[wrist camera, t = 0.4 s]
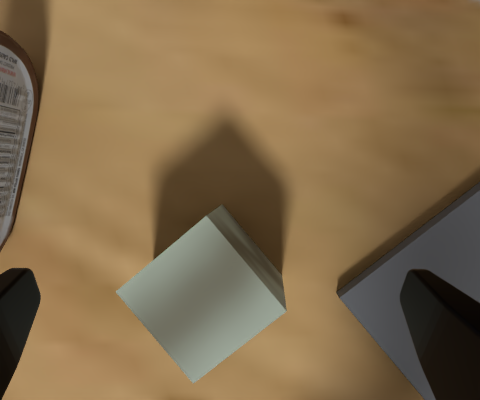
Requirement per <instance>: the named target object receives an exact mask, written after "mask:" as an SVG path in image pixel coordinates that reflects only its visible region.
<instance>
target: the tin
mask: <svg viewBox="0 0 480 400" xmlns="http://www.w3.org/2000/svg"><path fill="white" fill-rule="evenodd" d="M38 103H39V92H38V82H37V78H36V73H35V70H34V68H33V65H32V63H31V61H30V59H29V57H28V55H27V53H26V52H25V51H24V49H23V48H22V47H21V46H20V45H19V44H18V43H17V42H16V41H14V40H13V39H12V38H11V37H10V36H8V35H7V34H5V33H4V32H2V31H0V252H1V250H2V248H3V246H4V245H5V243H6V241H7V239H8V237H9V235H10V232H11V229H12V226H13V223H14V220H15V215H16V210H17V206H18V202H19V197H20V192H21V188H22V183H23V179H24V175H25V170H26V165H27V161H28V156H29V151H30V147H31V142H32V137H33V133H34V128H35V123H36V119H37V113H38Z"/></svg>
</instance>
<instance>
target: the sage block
mask: <svg viewBox="0 0 480 400" xmlns="http://www.w3.org/2000/svg"><path fill="white" fill-rule="evenodd" d="M116 293H117V294H118V295H119V296H120V298H121V299H122V300H123V301H124V302H125V303H126V305H127V306H128V307H129V308H130V309H131V311H132V312H133V313H134V314H135V315H136V316H137V318H138V319H139V320H140V321H141V322H142V324H143V325H144V326H145V327H146V328H147V329H148V331H149V332H150V333H151V334H152V335H153V337H154V338H155V339H156V340H157V341H158V342H159V344H160V345H161V346H162V347H163V348H164V350H165V351H166V352H167V353H168V354H169V355H170V357H171V358H172V359H173V360H174V361H175V363H176V364H177V365H178V366H179V367H180V368H181V370H182V371H183V372H184V373H185V374H186V376H187V377H188V378H189V379H190V380H191V381H192V383H195V382H196V381H197V380H199V379H200V378H201V377H202V376H204V375H205V374H206V373H208V372H209V371H210V370H211V369H213V368H214V367H215V366H217V365H218V364H219V363H220V362H222V361H223V360H224V359H226V358H227V357H228V356H229V355H231V354H232V353H233V352H235V351H236V350H237V349H238V348H240V347H241V346H242V345H244V344H245V343H246V342H247V341H249V340H250V339H251V338H253V337H254V336H255V335H257V334H258V333H259V332H260V331H262V330H263V329H264V328H266V327H267V326H268V325H269V324H271V323H272V322H273V321H275V320H276V319H277V318H278V317H280V316H281V315H282V314H284V313H285V312H286V311H287V310H286V303H285V295H284V287H283V280H282V275H281V274H280V273H279V271H278V270H277V269H276V268H275V267H274V265H273V264H272V263H271V262H270V261H269V260H268V258H267V257H266V256H265V255H264V254H263V252H262V251H261V250H260V249H259V248H258V246H257V245H256V244H255V243H254V242H253V240H252V239H251V238H250V237H249V236H248V235H247V233H246V232H245V231H244V230H243V229H242V227H241V226H240V225H239V224H238V223H237V221H236V220H235V219H234V218H233V217H232V215H231V214H230V213H229V212H228V211H227V209H226V208H225V207H224V206H223V205H220V206H219V207H218V208H216V209H215V210H213V211H212V212H211V213H209V214H208V215H206V216H205V217H204V218H203V219H202V220H200V221H199V222H198V223H197V224H196V225H195V226H193V227H192V228H191V229H190V230H189V231H187V232H186V233H185V234H184V235H183V236H181V237H180V238H179V239H178V240H177V241H176V242H174V243H173V244H172V245H171V246H170V247H168V248H167V249H166V250H165V251H164V252H162V253H161V254H160V255H159V256H158V257H157V258H155V259H154V260H153V261H152V262H151V263H149V264H148V265H147V266H146V267H145V268H143V269H142V270H141V271H140V272H139V273H137V274H136V275H135V276H134V277H133V278H132V279H130V280H129V281H128V282H127V283H126V284H124V285H123V286H122V287H121V288H120V289H118V290H117V291H116Z"/></svg>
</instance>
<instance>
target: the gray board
mask: <svg viewBox="0 0 480 400" xmlns="http://www.w3.org/2000/svg"><path fill="white" fill-rule="evenodd" d="M411 269H427V270H429V271H431V272H432V273H434V274H436V275H437V276H439V277H440V278H442V279H443V280H445V281H446V282H448V283H450V284H451V285H453V286H454V287H456V288H457V289H459V290H461V291H462V292H464V293H465V294H467V295H468V296H470V297H471V298H473V299H475V300H476V301H478V302H479V303H480V182H479V183H478V184H476V185H475V186H474V187H473V188H471V189H470V190H469V191H467V192H466V193H465V194H463V195H462V196H461V197H460V198H458V199H457V200H456V201H454V202H453V203H452V204H450V205H449V206H448V207H447V208H445V209H444V210H443V211H441V212H440V213H439V214H437V215H436V216H435V217H434V218H432V219H431V220H430V221H428V222H427V223H426V224H424V225H423V226H422V227H421V228H419V229H418V230H417V231H415V232H414V233H413V234H412V235H410V236H409V237H408V238H406V239H405V240H404V241H402V242H401V243H400V244H399V245H397V246H396V247H395V248H393V249H392V250H391V251H389V252H388V253H387V254H386V255H384V256H383V257H382V258H380V259H379V260H378V261H376V262H375V263H374V264H373V265H371V266H370V267H369V268H367V269H366V270H365V271H363V272H362V273H361V274H360V275H358V276H357V277H356V278H354V279H353V280H352V281H350V282H349V283H348V284H347V285H345V286H344V287H343V288H341V289H340V290H339V291H337V292H336V293H337V294H338V296H339V298H340V299H341V300H342V301H343V303H344V304H345V305H346V306H347V307H348V309H349V310H350V311H351V312H352V313H353V315H354V316H355V317H356V318H357V319H358V321H359V322H360V323H361V324H362V325H363V327H364V328H365V329H366V330H367V331H368V332H369V334H370V335H371V336H372V337H373V338H374V340H375V341H376V342H377V343H378V344H379V346H380V347H381V348H382V349H383V350H384V352H385V353H386V354H387V355H388V356H389V358H390V359H391V360H392V361H393V362H394V364H395V365H396V366H397V367H398V368H399V369H400V371H401V372H402V373H403V374H404V375H405V377H406V378H407V379H408V380H409V381H410V383H411V384H412V385H413V386H414V387H415V389H416V390H417V391H418V392H419V393H420V395H421V396H422V397H423V398H424V399H425V400H436V399H435V397H434V395H433V392H432V390H431V388H430V386H429V383H428V381H427V379H426V376H425V374H424V372H423V369H422V367H421V365H420V362H419V359H418V357H417V354H416V351H415V348H414V345H413V341H412V338H411V335H410V332H409V329H408V326H407V323H406V320H405V316H404V313H403V310H402V307H401V304H400V292H401V289H402V286H403V283H404V280H405V277H406V274H407V272H408V271H409V270H411Z"/></svg>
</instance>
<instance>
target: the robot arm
mask: <svg viewBox="0 0 480 400" xmlns="http://www.w3.org/2000/svg"><path fill="white" fill-rule="evenodd" d="M39 304H40V291H39V288H38V285H37V283H36V280H35V277H34V274H33V272H32V270H31V269H29V268H11V269H9V270H7V271H5V272H4V273H2V274H0V400H2V397H3V395H4V393H5V391H6V389H7V387H8V385H9V383H10V381H11V379H12V376H13V374H14V372H15V370H16V368H17V365H18V363H19V360H20V358H21V355H22V352H23V349H24V347H25V344H26V341H27V338H28V335H29V332H30V330H31V327H32V324H33V321H34V318H35V316H36V313H37V310H38V307H39ZM400 304H401V307H402V310H403V313H404V316H405V320H406V323H407V326H408V329H409V332H410V335H411V338H412V341H413V345H414V348H415V351H416V354H417V357H418V359H419V362H420V365H421V367H422V369H423V372H424V374H425V376H426V379H427V381H428V383H429V386H430V388H431V390H432V392H433V395H434V397H435V399H436V400H480V303H479V302H478V301H476V300H475V299H473V298H471V297H470V296H468V295H467V294H465V293H464V292H462V291H461V290H459V289H457V288H456V287H454V286H453V285H451V284H450V283H448V282H446V281H445V280H443V279H442V278H440V277H439V276H437V275H436V274H434V273H432V272H431V271H429V270H427V269H411V270H409V271H408V272H407V274H406V277H405V280H404V283H403V286H402V289H401V292H400Z"/></svg>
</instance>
